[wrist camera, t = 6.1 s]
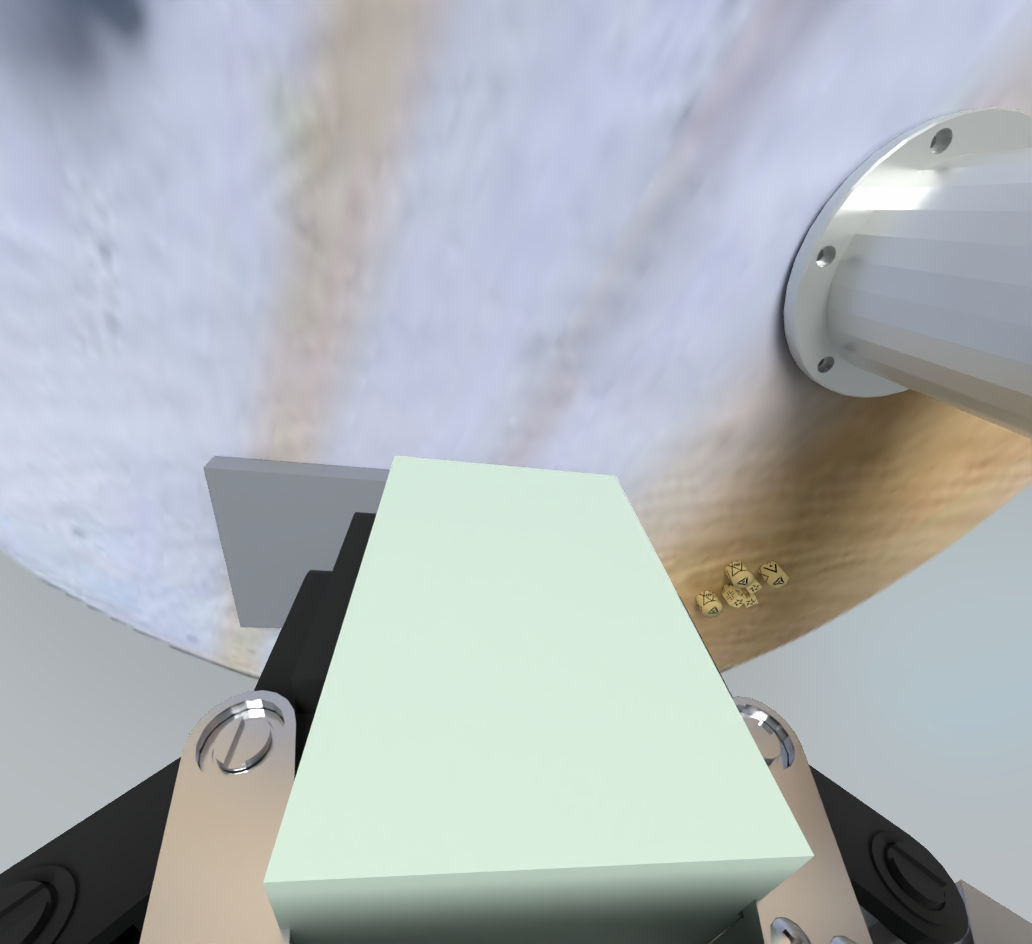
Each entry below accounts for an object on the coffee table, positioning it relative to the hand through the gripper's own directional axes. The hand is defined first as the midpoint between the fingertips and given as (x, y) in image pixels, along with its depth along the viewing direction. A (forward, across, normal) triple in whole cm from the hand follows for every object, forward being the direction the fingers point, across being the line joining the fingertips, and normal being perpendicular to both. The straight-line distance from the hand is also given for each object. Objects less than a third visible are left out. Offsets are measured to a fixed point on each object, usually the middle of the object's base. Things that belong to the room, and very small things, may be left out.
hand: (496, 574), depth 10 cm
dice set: (+16, -21, +14) cm, 29 cm away
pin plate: (+14, +5, +12) cm, 19 cm away
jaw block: (+1, 0, 0) cm, 1 cm away
